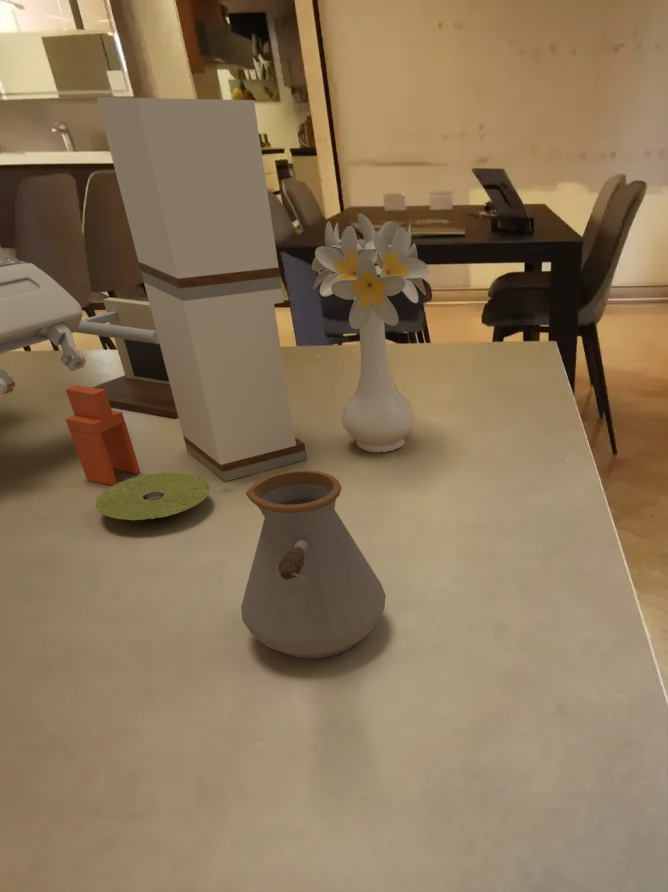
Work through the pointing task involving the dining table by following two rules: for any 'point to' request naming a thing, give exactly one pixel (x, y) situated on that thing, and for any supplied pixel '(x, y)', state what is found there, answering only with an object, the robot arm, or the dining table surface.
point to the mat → (152, 496)
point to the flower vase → (372, 322)
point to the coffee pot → (307, 570)
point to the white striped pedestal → (208, 272)
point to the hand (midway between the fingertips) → (45, 377)
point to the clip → (99, 435)
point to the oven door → (134, 358)
